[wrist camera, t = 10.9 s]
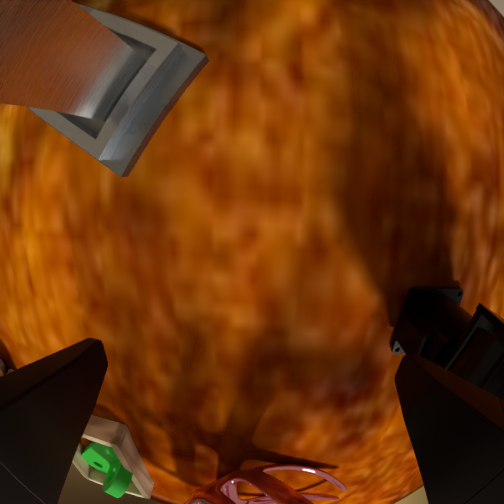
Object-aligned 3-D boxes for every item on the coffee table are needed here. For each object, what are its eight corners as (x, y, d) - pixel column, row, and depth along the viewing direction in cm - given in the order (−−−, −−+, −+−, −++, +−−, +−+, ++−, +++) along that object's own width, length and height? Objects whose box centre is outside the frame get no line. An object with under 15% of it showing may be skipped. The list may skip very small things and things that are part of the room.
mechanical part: (103, 430, 28) (83, 472, 20) (140, 452, 29) (125, 496, 21) (82, 449, 31) (65, 482, 23) (112, 468, 32) (99, 502, 24)
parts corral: (126, 424, 26) (117, 445, 23) (154, 483, 32) (149, 499, 28) (51, 399, 26) (40, 415, 23) (91, 464, 32) (85, 478, 28)
